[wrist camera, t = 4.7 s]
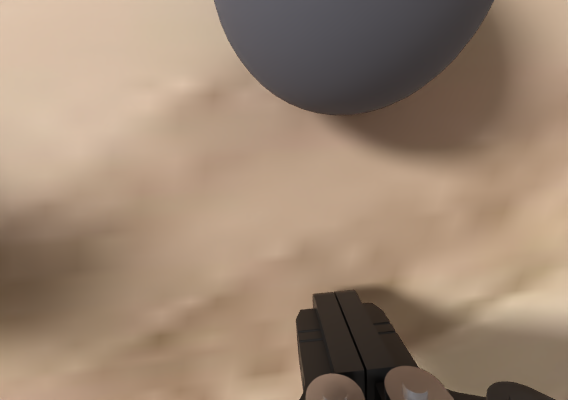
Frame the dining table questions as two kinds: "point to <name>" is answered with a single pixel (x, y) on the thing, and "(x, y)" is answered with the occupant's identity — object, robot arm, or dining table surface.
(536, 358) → the dining table surface
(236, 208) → the dining table surface
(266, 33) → the gray ball
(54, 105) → the dining table surface
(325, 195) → the dining table surface
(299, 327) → the robot arm
